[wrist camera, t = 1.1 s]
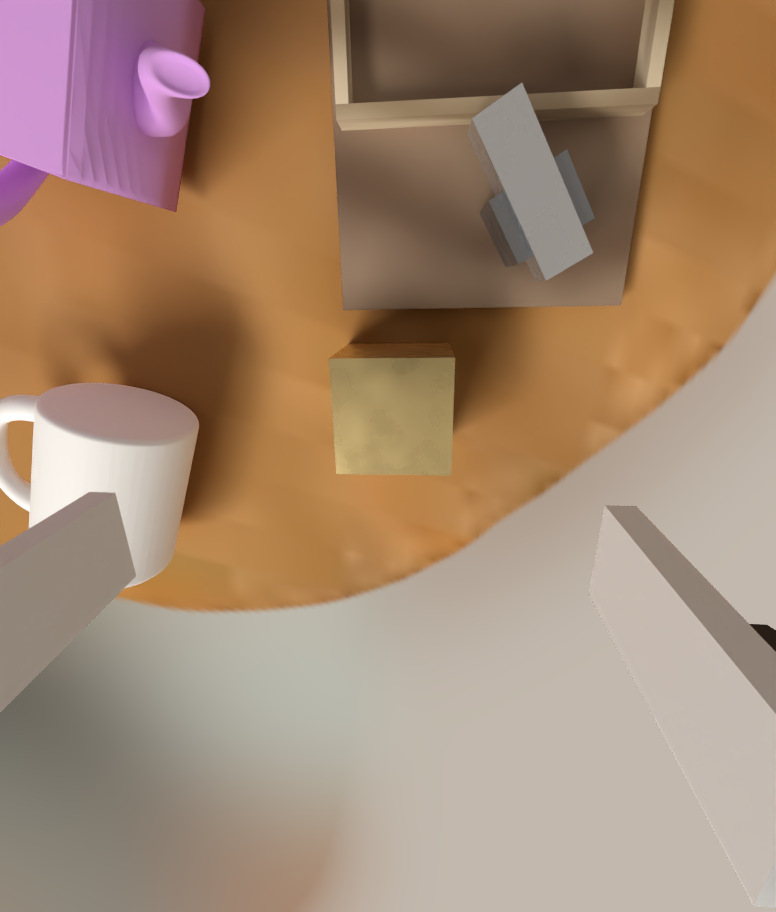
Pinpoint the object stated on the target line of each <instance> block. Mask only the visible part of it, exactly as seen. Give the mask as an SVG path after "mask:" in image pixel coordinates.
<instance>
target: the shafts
mask: <svg viewBox="0 0 776 912" xmlns="http://www.w3.org/2000/svg"><path fill="white" fill-rule="evenodd" d="M467 136H468V138H469V140H470V142H471V145H472V147H473V149H474V151H475V153H476V155H477V157H478V160H479V162H480V164H481V166H482V168H483V170H484V173H485V175H486V177H487V179H488V181H489V183H490V185H491V188H492V190H493V192H494V194H495V197H494V198H492V199H491V200H489V201H488V202H487V204H486V205H485V206H484V208H483V209H482V210H481V212H480V215H481V217H482V219H483V221H484V224H485V226H486V228H487V230H488V232H489V234H490V236H491V238H492V240H493V242H494V244H495V246H496V249H497V251H498V253H499V255H500V257H501V259H502V261H503V263H504V265H505V267H510V266H514V265H519V264H520V263H522V262H523V261H526V263H527V265H528V267H529V270H530V272H531V274H532V276H533V278H534V280H535V281H547V280H548V279H550V278H552V277H553V276H555V275H557V274H559V273H560V272H562V271H564V270H565V269H567V268H569V267H570V266H572V265H574V264H575V263H577V262H579V261H581V260H582V259H584V258H586V257H587V256H589V255H591V254H592V253H593V251H592V249H591V246H590V244H589V241H588V239H587V237H586V234H585V232H584V229H583V227H582V225H584V224H586V223H587V222H589V221H591V220H592V219H594V218H595V217H594V214H593V212H592V209H591V207H590V204H589V202H588V199H587V197H586V195H585V192H584V190H583V187H582V185H581V182H580V180H579V177H578V175H577V172H576V170H575V168H574V165H573V163H572V160H571V158H570V155H569V153H568V150H567V149H566V150H565V151H563V152H562V153H560V154H559V155H557V156H556V157H554V158H553V155H552V153H551V150H550V148H549V146H548V143H547V141H546V138H545V136H544V134H543V131H542V129H541V126H540V124H539V122H538V119H537V117H536V114H535V112H534V110H533V107H532V105H531V102H530V100H529V98H528V95H527V93H526V90H525V88H524V86H523V83H521V84H519V85H518V86H516V87H515V88H514V89H512V90H511V91H509V92H508V93H507V94H505V95H504V96H502V97H501V98H500V99H498V100H497V101H495V102H494V103H493V104H491V105H490V106H488V107H487V108H486V109H484V110H483V111H482V112H480V113H479V114H477V115H476V116H475V117H473V118H472V120H471V124H470V127H469V131H468V134H467Z"/></svg>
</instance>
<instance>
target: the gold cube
mask: <svg viewBox="0 0 776 912" xmlns="http://www.w3.org/2000/svg"><path fill="white" fill-rule="evenodd" d="M329 368H330V383H331V399H332V414H333V430H334V445H335V460H336V474H382V475H451V466H452V437H453V408H454V380H455V356H454V353H453V351H452V349H451V346H450V344H449V343H374V344H348V345H346V346H345V347H344V348H342V349H341V350H340V351H338V352H337V353H336V354H334V355H333V356H332V357H330V358H329Z"/></svg>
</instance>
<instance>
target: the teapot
mask: <svg viewBox="0 0 776 912" xmlns="http://www.w3.org/2000/svg"><path fill="white" fill-rule="evenodd" d="M205 11H206V9H205V7H204V6H203V5H202V4H201V2H200V1H199V0H0V155H2V156H4V157H7V158H10V159H12V160H11V161H10V162H9V163H8V164H7V165H6V166H5V167H4V168H3V169H2V170H1V171H0V226H2V225H3V224H5V223H7V222H8V221H9V220H11V219H12V218H13V217H15V216H16V215H17V214H18V213H19V212H20V211H21V210H22V208H23V207H24V206H25V205H26V204H27V202H28V201H29V200H30V199H31V197H32V196H33V195H34V194H35V192H36V191H37V190H38V188H39V187H40V186H41V184H42V183H43V182H44V180H45V179H46V178H47V176H48V175H49V173H50V174H52V175H55V176H58V177H60V178H63V179H66V180H69V181H72V182H76V183H79V184H82V185H86V186H89V187H93V188H96V189H99V190H103V191H106V192H110V193H113V194H116V195H120V196H123V197H127V198H130V199H133V200H137V201H140V202H144V203H147V204H150V205H154V206H157V207H161V208H164V209H167V210H171V211H174V212H176V210H177V203H178V197H179V190H180V183H181V176H182V169H183V162H184V155H185V148H186V141H187V135H188V128H189V121H190V115H191V107H192V100H193V99H194V98H199V97H202V96H204V95H205V94H207V93H208V91H209V88H210V79H209V76H208V74H207V72H206V71H205V70H204V68H203V67H202V66H201V65H200V64H199V63H198V59H199V53H200V46H201V39H202V32H203V25H204V18H205Z"/></svg>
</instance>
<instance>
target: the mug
mask: <svg viewBox="0 0 776 912" xmlns="http://www.w3.org/2000/svg"><path fill="white" fill-rule="evenodd" d="M14 420H26V421H33V422H34V430H33V451H32V472H31V484H29V483H28V482H26V481H25V480H24V479H23V478H22V477H20V475H19V474H18V473H17V472H16V470H15V469H14V467H13V465H12V462H11V459H10V455H9V450H8V442H7V427H8V423H9V422H10V421H14ZM198 430H199V421H198V419H197V417H196V415H195V414H194V413H193V412H192V411H191V410H190V409H189V408H188V407H186V406H185V405H183V404H182V403H180V402H178V401H176V400H174V399H172V398H170V397H167V396H165V395H162V394H159V393H156V392H153V391H149V390H146V389H141V388H137V387H132V386H126V385H119V384H109V383H76V384H68V385H63V386H59V387H55V388H52V389H50V390H48V391H46V392H44V393H43V394H41V395H40V396H35V395H12V396H8V397H5V398H3V399H1V400H0V488H1V489H2V490H3V491H4V492H5V493H6V495H8V496H9V497H10V498H11V499H12V500H13V501H14V502H15V503H17V504H18V505H19V506H21V507H22V508H24V509H25V510H27V511H29V512H30V513H29V528H31V527H33V526H34V525H36V524H38V523H39V522H41V521H42V520H44V519H46V518H47V517H49V516H51V515H52V514H54V513H56V512H57V511H59V510H60V509H62V508H64V507H65V506H67V505H69V504H70V503H72V502H74V501H75V500H77V499H78V498H80V497H82V496H83V495H85V494H87V493H88V492H111V493H116V497H117V501H118V505H119V509H120V513H121V517H122V521H123V525H124V529H125V533H126V537H127V541H128V545H129V549H130V553H131V557H132V561H133V565H134V569H135V573H136V577H135V578H134V579H133V580H132V581H131V582H130V583H129V584H128V585H127V586H126V587H125V588H127V587H131V586H134V585H137V584H140V583H142V582H144V581H147V580H149V579H151V578H152V577H154V576H156V575H157V574H158V573H160V572H161V571H162V570H163V569H164V568H165V567H166V566H167V565H168V564H169V562H170V561H171V559H172V557H173V555H174V551H175V546H176V541H177V536H178V531H179V526H180V521H181V516H182V511H183V506H184V501H185V496H186V491H187V485H188V480H189V475H190V470H191V465H192V460H193V455H194V450H195V445H196V440H197V435H198Z"/></svg>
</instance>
